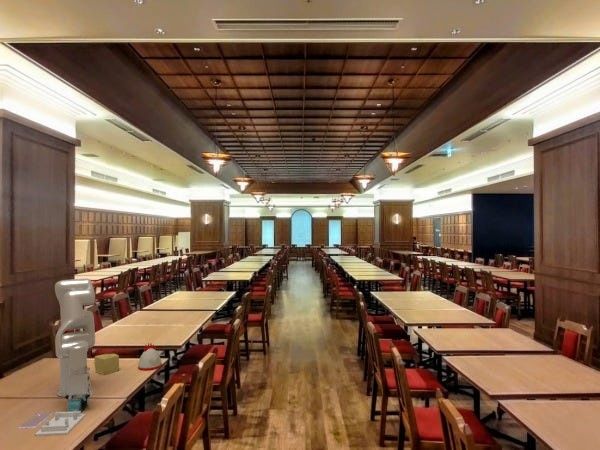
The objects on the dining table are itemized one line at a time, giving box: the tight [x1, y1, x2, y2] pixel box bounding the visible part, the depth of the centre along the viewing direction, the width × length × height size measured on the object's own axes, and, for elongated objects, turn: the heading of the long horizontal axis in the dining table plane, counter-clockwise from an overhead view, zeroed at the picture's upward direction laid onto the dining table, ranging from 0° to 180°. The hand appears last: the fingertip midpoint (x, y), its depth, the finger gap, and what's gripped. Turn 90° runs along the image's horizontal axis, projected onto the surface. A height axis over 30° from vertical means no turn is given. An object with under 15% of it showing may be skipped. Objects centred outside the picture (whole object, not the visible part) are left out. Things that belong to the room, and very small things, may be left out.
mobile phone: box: [18, 411, 53, 430], centre depth 187 cm, size 8×1×15 cm
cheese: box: [93, 353, 120, 376], centre depth 252 cm, size 10×11×10 cm
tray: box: [34, 410, 87, 437], centre depth 182 cm, size 18×13×4 cm
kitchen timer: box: [137, 343, 162, 372], centre depth 260 cm, size 14×14×15 cm
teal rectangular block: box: [67, 392, 89, 413], centre depth 198 cm, size 10×5×6 cm, turn 4°
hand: (78, 408), depth 198 cm, fingers closed on teal rectangular block, 5 cm apart
